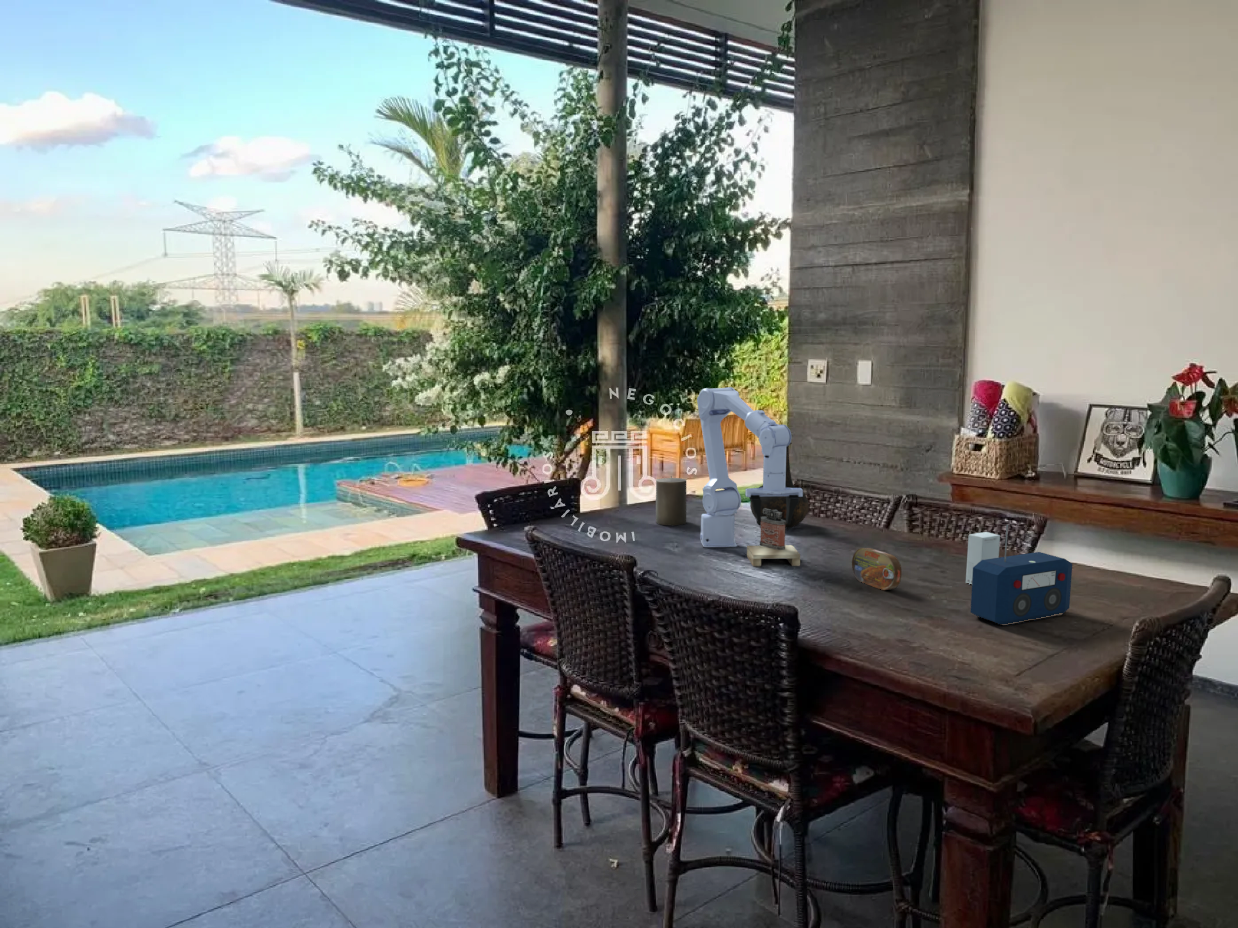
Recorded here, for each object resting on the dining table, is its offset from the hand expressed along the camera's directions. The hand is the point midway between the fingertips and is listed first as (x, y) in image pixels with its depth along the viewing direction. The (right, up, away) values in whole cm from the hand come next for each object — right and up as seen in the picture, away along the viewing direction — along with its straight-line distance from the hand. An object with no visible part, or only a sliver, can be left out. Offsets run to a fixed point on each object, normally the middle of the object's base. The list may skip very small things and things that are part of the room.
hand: (773, 523), depth 228 cm
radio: (+44, -17, -45) cm, 65 cm away
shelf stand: (0, -10, +1) cm, 10 cm away
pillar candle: (-24, -3, +49) cm, 55 cm away
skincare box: (+45, -13, -21) cm, 52 cm away
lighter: (0, -7, +4) cm, 8 cm away
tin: (+20, -13, -22) cm, 32 cm away
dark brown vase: (+9, -4, +44) cm, 45 cm away
